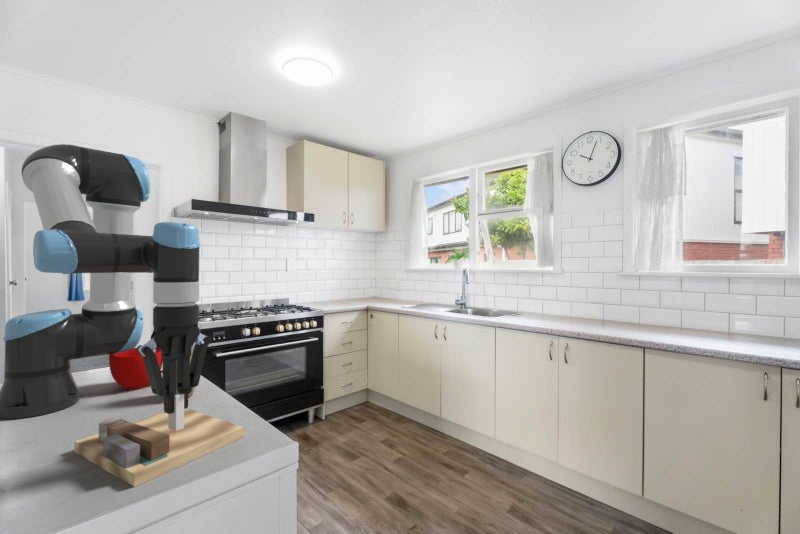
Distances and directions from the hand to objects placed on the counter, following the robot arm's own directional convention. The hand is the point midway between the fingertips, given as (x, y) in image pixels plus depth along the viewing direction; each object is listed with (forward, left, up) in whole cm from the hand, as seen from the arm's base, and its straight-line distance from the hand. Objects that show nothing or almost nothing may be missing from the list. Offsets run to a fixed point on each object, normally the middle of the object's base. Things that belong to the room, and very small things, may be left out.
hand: (176, 427), depth 71 cm
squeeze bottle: (-28, +17, -4) cm, 33 cm away
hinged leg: (-4, -6, -2) cm, 7 cm away
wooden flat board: (-4, 0, -4) cm, 6 cm away
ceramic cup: (-46, +17, -4) cm, 49 cm away
